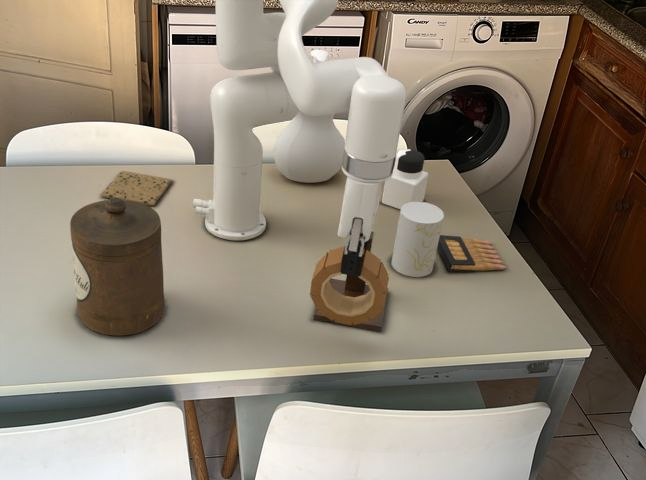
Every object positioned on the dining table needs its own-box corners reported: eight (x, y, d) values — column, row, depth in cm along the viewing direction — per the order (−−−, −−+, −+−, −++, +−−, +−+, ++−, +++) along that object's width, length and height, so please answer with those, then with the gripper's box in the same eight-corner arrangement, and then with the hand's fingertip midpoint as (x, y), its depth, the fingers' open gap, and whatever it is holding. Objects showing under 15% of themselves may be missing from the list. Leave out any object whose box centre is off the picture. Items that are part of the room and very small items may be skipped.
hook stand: (312, 323, 143) (319, 261, 135) (323, 282, 153) (331, 223, 146) (380, 335, 141) (391, 273, 134) (387, 293, 152) (397, 233, 144)
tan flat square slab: (173, 181, 182) (173, 177, 181) (154, 206, 172) (154, 202, 171) (122, 172, 184) (122, 168, 183) (101, 197, 174) (100, 193, 173)
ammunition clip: (448, 271, 159) (507, 273, 160) (451, 263, 158) (509, 266, 159) (434, 242, 167) (489, 244, 169) (436, 234, 166) (492, 237, 168)
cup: (407, 280, 156) (418, 227, 149) (383, 259, 161) (392, 206, 154) (441, 271, 159) (452, 218, 152) (416, 250, 165) (426, 198, 158)
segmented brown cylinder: (307, 317, 134) (314, 256, 127) (312, 300, 138) (319, 240, 131) (379, 330, 133) (390, 270, 126) (382, 313, 136) (393, 253, 129)
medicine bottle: (423, 201, 182) (433, 152, 175) (410, 213, 177) (419, 164, 170) (395, 191, 185) (403, 143, 178) (381, 203, 180) (388, 154, 173)
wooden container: (88, 282, 148) (79, 175, 136) (169, 288, 148) (168, 181, 136) (68, 333, 136) (56, 220, 124) (157, 339, 136) (154, 227, 124)
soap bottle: (275, 188, 182) (284, 61, 165) (268, 165, 191) (276, 42, 175) (348, 188, 185) (364, 62, 168) (337, 164, 194) (352, 43, 177)
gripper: (350, 134, 126) (337, 233, 137) (334, 184, 112) (321, 290, 123) (398, 141, 125) (381, 240, 136) (388, 193, 111) (370, 299, 122)
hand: (352, 263), depth 129 cm, fingers closed on segmented brown cylinder, 4 cm apart
